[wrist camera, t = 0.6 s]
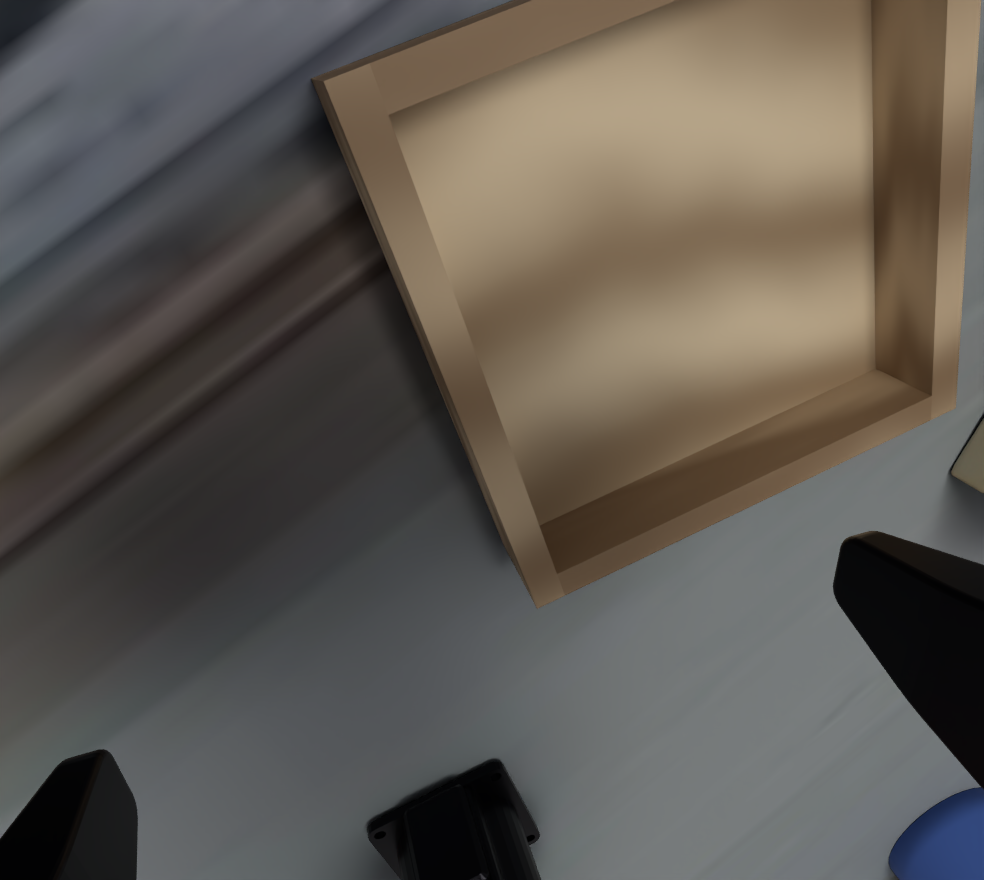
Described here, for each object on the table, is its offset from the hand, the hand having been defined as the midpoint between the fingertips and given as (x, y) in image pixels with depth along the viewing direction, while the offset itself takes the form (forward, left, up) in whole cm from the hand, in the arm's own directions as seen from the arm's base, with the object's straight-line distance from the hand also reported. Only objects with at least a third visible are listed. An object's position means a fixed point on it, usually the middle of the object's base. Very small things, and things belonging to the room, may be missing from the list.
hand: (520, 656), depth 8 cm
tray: (-2, -9, -14) cm, 17 cm away
